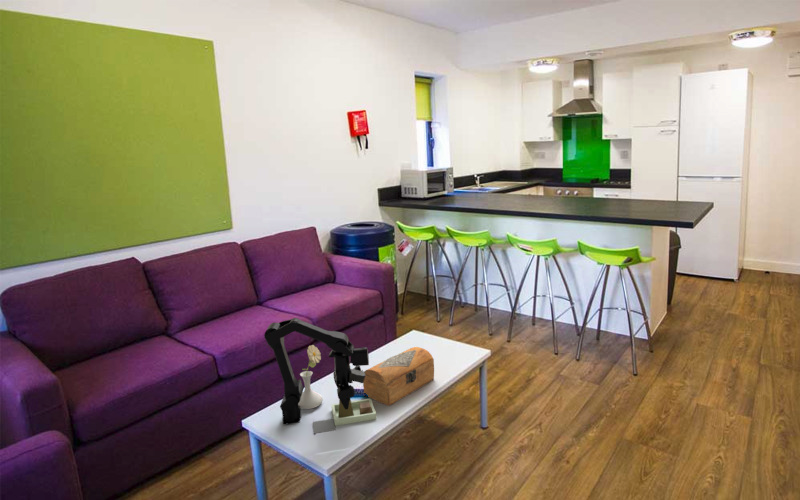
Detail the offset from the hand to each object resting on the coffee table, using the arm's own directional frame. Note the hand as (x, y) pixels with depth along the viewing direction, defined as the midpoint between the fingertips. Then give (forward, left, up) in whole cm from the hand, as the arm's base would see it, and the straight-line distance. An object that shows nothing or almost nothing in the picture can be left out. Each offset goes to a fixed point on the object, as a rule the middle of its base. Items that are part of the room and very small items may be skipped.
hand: (345, 403), depth 196 cm
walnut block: (+8, -2, -5) cm, 9 cm away
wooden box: (+26, +16, -6) cm, 31 cm away
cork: (0, 0, -5) cm, 5 cm away
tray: (+3, 0, -6) cm, 6 cm away
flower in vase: (-13, +14, -6) cm, 20 cm away
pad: (-9, -5, -6) cm, 12 cm away
